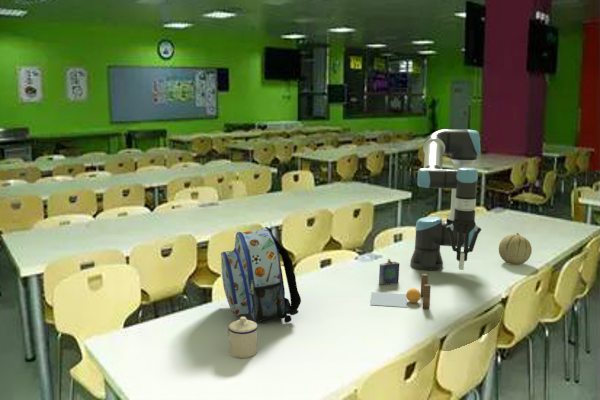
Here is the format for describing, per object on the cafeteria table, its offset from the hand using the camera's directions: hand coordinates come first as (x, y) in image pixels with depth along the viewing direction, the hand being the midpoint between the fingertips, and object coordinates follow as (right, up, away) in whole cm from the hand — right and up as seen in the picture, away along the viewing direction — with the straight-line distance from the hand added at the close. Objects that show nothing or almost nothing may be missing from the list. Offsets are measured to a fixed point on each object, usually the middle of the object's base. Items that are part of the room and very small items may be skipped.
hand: (461, 268), depth 217 cm
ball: (-18, -11, +4) cm, 21 cm away
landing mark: (-27, -13, +7) cm, 31 cm away
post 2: (-14, -15, -1) cm, 20 cm away
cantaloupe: (+41, -5, +54) cm, 68 cm away
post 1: (-12, -13, +11) cm, 20 cm away
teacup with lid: (-81, -22, -38) cm, 92 cm away
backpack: (-79, -16, -6) cm, 81 cm away
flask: (-24, -10, +26) cm, 37 cm away
